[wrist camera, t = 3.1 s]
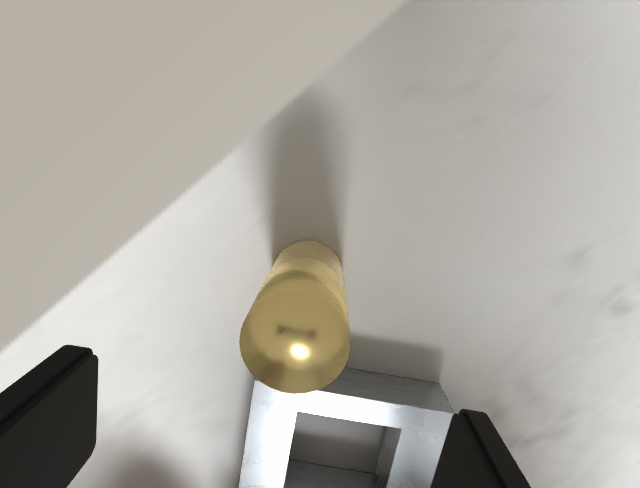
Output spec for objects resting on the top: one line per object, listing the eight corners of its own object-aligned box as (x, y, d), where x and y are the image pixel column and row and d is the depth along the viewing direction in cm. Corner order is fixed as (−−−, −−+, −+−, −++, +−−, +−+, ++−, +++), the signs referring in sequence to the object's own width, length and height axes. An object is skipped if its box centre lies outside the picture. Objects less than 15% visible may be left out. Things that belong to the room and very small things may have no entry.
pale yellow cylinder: (348, 247, 23) (360, 303, 14) (335, 312, 24) (339, 401, 15) (278, 234, 23) (246, 283, 14) (268, 300, 24) (233, 383, 15)
